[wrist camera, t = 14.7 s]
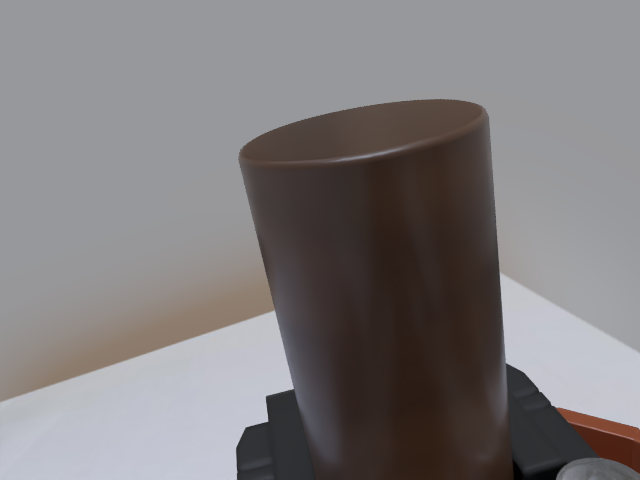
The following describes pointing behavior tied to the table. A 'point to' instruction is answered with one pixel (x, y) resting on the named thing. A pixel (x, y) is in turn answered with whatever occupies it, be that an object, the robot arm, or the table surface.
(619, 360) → the table surface
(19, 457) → the table surface
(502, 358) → the stick
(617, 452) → the bowl
